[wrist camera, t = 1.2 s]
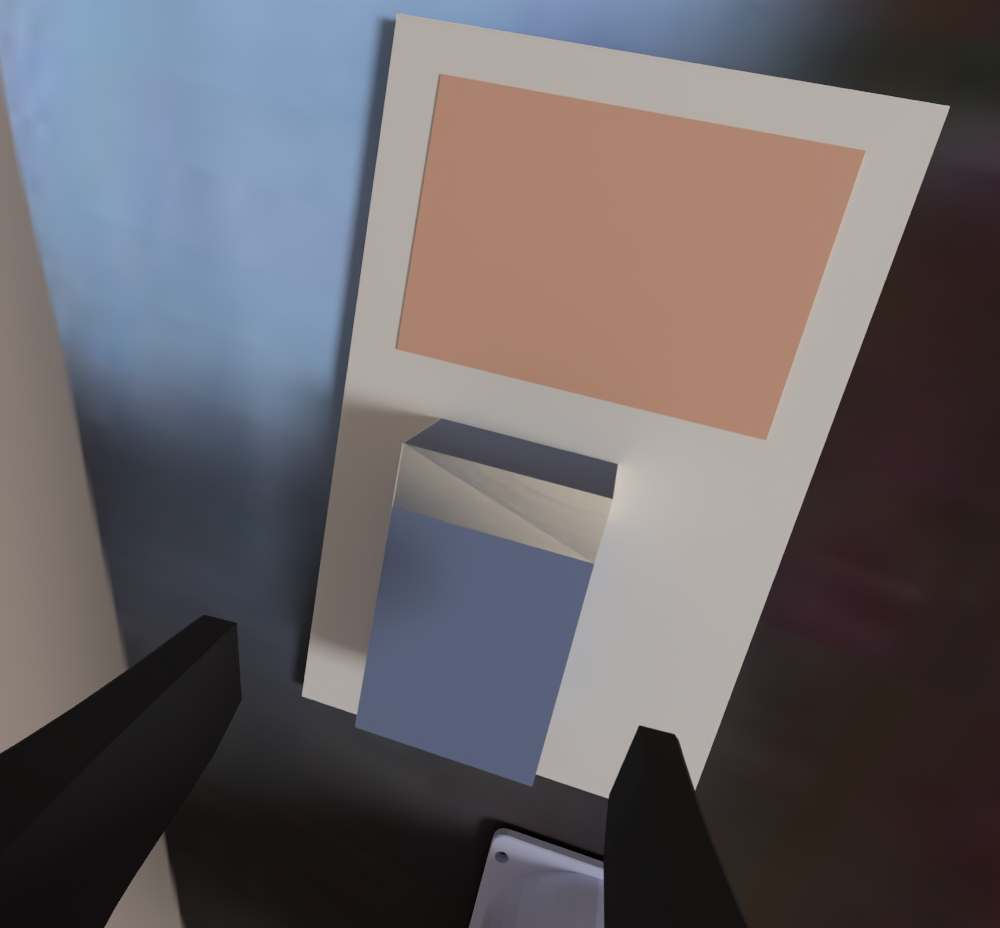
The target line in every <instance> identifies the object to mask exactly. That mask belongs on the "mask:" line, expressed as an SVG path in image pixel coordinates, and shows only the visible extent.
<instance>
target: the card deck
mask: <svg viewBox="0 0 1000 928" xmlns="http://www.w3.org/2000/svg"><path fill="white" fill-rule="evenodd" d="M617 470H618V464H616V463H612V462H608V461H604V460H600V459H597V458H593V457H589V456H585V455H581V454H577V453H573V452H570V451H566V450H562V449H558V448H554V447H550V446H546V445H543V444H539V443H535V442H531V441H527V440H523V439H520V438H516V437H512V436H508V435H504V434H500V433H496V432H493V431H489V430H485V429H481V428H477V427H473V426H469V425H466V424H462V423H458V422H454V421H450V420H446V419H442V418H441V419H439V420H438V421H436V422H434V423H433V424H431V425H430V426H428V427H427V428H425V429H424V430H422V431H420V432H419V433H417V434H416V435H414V436H413V437H411V438H410V439H408V440H406V441H405V442H403V444H402V450H401V456H400V462H399V467H398V473H397V479H396V485H395V491H394V497H393V503H392V513H391V519H390V524H389V530H388V536H387V542H386V548H385V554H384V560H383V565H382V571H381V577H380V583H379V589H378V595H377V600H376V606H375V612H374V618H373V624H372V630H371V636H370V641H369V647H368V653H367V659H366V665H365V671H364V676H363V682H362V688H361V694H360V700H359V706H358V712H357V717H356V723H355V727H356V728H359V729H362V730H365V731H368V732H371V733H374V734H377V735H380V736H383V737H386V738H389V739H392V740H395V741H398V742H401V743H404V744H407V745H410V746H413V747H416V748H419V749H422V750H425V751H428V752H431V753H433V754H436V755H439V756H442V757H445V758H448V759H451V760H454V761H457V762H460V763H463V764H466V765H469V766H472V767H475V768H478V769H481V770H484V771H487V772H490V773H493V774H496V775H499V776H502V777H505V778H508V779H511V780H514V781H517V782H520V783H523V784H526V785H528V786H531V787H532V786H533V782H534V779H535V775H536V771H537V768H538V764H539V761H540V757H541V753H542V750H543V746H544V743H545V739H546V735H547V732H548V728H549V725H550V721H551V718H552V714H553V710H554V707H555V703H556V700H557V696H558V692H559V689H560V685H561V682H562V678H563V674H564V671H565V667H566V664H567V660H568V657H569V653H570V649H571V646H572V642H573V639H574V635H575V631H576V628H577V624H578V621H579V617H580V613H581V610H582V606H583V603H584V599H585V595H586V592H587V588H588V585H589V581H590V578H591V574H592V570H593V567H594V564H595V563H596V559H597V555H598V552H599V548H600V545H601V541H602V537H603V534H604V530H605V527H606V523H607V520H608V516H609V512H610V509H611V505H612V502H613V497H614V490H615V483H616V476H617Z"/></svg>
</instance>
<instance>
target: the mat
mask: <svg viewBox="0 0 1000 928" xmlns="http://www.w3.org/2000/svg"><path fill="white" fill-rule="evenodd" d="M949 108H950V106H945V105H939V104H933V103H927V102H921V101H915V100H909V99H904V98H898V97H892V96H886V95H880V94H874V93H868V92H862V91H856V90H850V89H844V88H838V87H832V86H826V85H820V84H815V83H809V82H803V81H797V80H791V79H785V78H779V77H773V76H767V75H761V74H755V73H749V72H743V71H737V70H732V69H726V68H720V67H714V66H708V65H702V64H696V63H690V62H684V61H678V60H672V59H666V58H660V57H654V56H648V55H643V54H637V53H631V52H625V51H619V50H613V49H607V48H601V47H595V46H589V45H583V44H577V43H571V42H565V41H560V40H554V39H548V38H542V37H536V36H530V35H524V34H518V33H512V32H506V31H500V30H494V29H488V28H482V27H477V26H471V25H465V24H459V23H453V22H447V21H441V20H435V19H429V18H423V17H417V16H411V15H405V14H399V13H397V17H396V24H395V31H394V39H393V46H392V53H391V60H390V67H389V74H388V82H387V89H386V96H385V103H384V110H383V118H382V125H381V132H380V139H379V146H378V153H377V161H376V168H375V175H374V182H373V189H372V196H371V204H370V211H369V218H368V225H367V232H366V240H365V247H364V254H363V261H362V268H361V275H360V283H359V290H358V297H357V304H356V311H355V319H354V326H353V333H352V340H351V347H350V354H349V362H348V369H347V376H346V383H345V390H344V397H343V405H342V412H341V419H340V426H339V433H338V441H337V448H336V455H335V462H334V469H333V476H332V484H331V491H330V498H329V505H328V512H327V519H326V527H325V534H324V541H323V548H322V555H321V563H320V570H319V577H318V584H317V591H316V598H315V606H314V613H313V620H312V627H311V634H310V642H309V649H308V656H307V663H306V670H305V677H304V685H303V692H302V696H303V697H306V698H309V699H312V700H315V701H318V702H321V703H324V704H327V705H330V706H333V707H336V708H339V709H342V710H345V711H348V712H351V713H354V714H357V712H358V706H359V700H360V694H361V688H362V682H363V676H364V671H365V665H366V659H367V653H368V647H369V641H370V636H371V630H372V624H373V618H374V612H375V606H376V600H377V595H378V589H379V583H380V577H381V571H382V565H383V560H384V554H385V548H386V542H387V536H388V530H389V524H390V519H391V513H392V503H393V497H394V491H395V485H396V479H397V473H398V467H399V462H400V456H401V450H402V444H403V442H405V441H406V440H408V439H410V438H411V437H413V436H414V435H416V434H417V433H419V432H420V431H422V430H424V429H425V428H427V427H428V426H430V425H431V424H433V423H434V422H436V421H438V420H439V419H441V418H442V419H446V420H450V421H454V422H458V423H462V424H466V425H469V426H473V427H477V428H481V429H485V430H489V431H493V432H496V433H500V434H504V435H508V436H512V437H516V438H520V439H523V440H527V441H531V442H535V443H539V444H543V445H546V446H550V447H554V448H558V449H562V450H566V451H570V452H573V453H577V454H581V455H585V456H589V457H593V458H597V459H600V460H604V461H608V462H612V463H616V464H618V470H617V476H616V483H615V490H614V497H613V502H612V505H611V509H610V512H609V516H608V520H607V523H606V527H605V530H604V534H603V537H602V541H601V545H600V548H599V552H598V555H597V559H596V563H595V564H594V567H593V570H592V574H591V578H590V581H589V585H588V588H587V592H586V595H585V599H584V603H583V606H582V610H581V613H580V617H579V621H578V624H577V628H576V631H575V635H574V639H573V642H572V646H571V649H570V653H569V657H568V660H567V664H566V667H565V671H564V674H563V678H562V682H561V685H560V689H559V692H558V696H557V700H556V703H555V707H554V710H553V714H552V718H551V721H550V725H549V728H548V732H547V735H546V739H545V743H544V746H543V750H542V753H541V757H540V761H539V764H538V768H537V771H536V774H537V775H540V776H543V777H546V778H549V779H552V780H555V781H558V782H561V783H564V784H567V785H570V786H573V787H576V788H579V789H582V790H585V791H588V792H591V793H593V794H596V795H599V796H602V797H605V798H608V799H609V794H610V792H611V789H612V787H613V785H614V782H615V780H616V778H617V775H618V773H619V771H620V768H621V766H622V764H623V761H624V759H625V757H626V754H627V752H628V750H629V747H630V745H631V743H632V740H633V738H634V736H635V733H636V731H637V729H638V726H639V725H641V726H645V727H648V728H652V729H656V730H660V731H664V732H668V733H672V734H675V735H676V737H677V738H678V740H679V742H680V746H681V749H682V752H683V756H684V759H685V762H686V765H687V768H688V771H689V774H690V777H691V780H692V783H693V786H694V789H696V787H697V784H698V781H699V779H700V776H701V773H702V771H703V768H704V765H705V763H706V760H707V757H708V754H709V752H710V749H711V746H712V744H713V741H714V738H715V736H716V733H717V730H718V728H719V725H720V722H721V720H722V717H723V714H724V712H725V709H726V706H727V704H728V701H729V698H730V695H731V693H732V690H733V687H734V685H735V682H736V679H737V677H738V674H739V671H740V669H741V666H742V663H743V661H744V658H745V655H746V653H747V650H748V647H749V644H750V642H751V639H752V636H753V634H754V631H755V628H756V626H757V623H758V620H759V618H760V615H761V612H762V610H763V607H764V604H765V602H766V599H767V596H768V594H769V591H770V588H771V585H772V583H773V580H774V577H775V575H776V572H777V569H778V567H779V564H780V561H781V559H782V556H783V553H784V551H785V548H786V545H787V543H788V540H789V537H790V534H791V532H792V529H793V526H794V524H795V521H796V518H797V516H798V513H799V510H800V508H801V505H802V502H803V500H804V497H805V494H806V492H807V489H808V486H809V484H810V481H811V478H812V475H813V473H814V470H815V467H816V465H817V462H818V459H819V457H820V454H821V451H822V449H823V446H824V443H825V441H826V438H827V435H828V433H829V430H830V427H831V424H832V422H833V419H834V416H835V414H836V411H837V408H838V406H839V403H840V400H841V398H842V395H843V392H844V390H845V387H846V384H847V382H848V379H849V376H850V374H851V371H852V368H853V365H854V363H855V360H856V357H857V355H858V352H859V349H860V347H861V344H862V341H863V339H864V336H865V333H866V331H867V328H868V325H869V323H870V320H871V317H872V315H873V312H874V309H875V306H876V304H877V301H878V298H879V296H880V293H881V290H882V288H883V285H884V282H885V280H886V277H887V274H888V272H889V269H890V266H891V264H892V261H893V258H894V255H895V253H896V250H897V247H898V245H899V242H900V239H901V237H902V234H903V231H904V229H905V226H906V223H907V221H908V218H909V215H910V213H911V210H912V207H913V205H914V202H915V199H916V196H917V194H918V191H919V188H920V186H921V183H922V180H923V178H924V175H925V172H926V170H927V167H928V164H929V162H930V159H931V156H932V154H933V151H934V148H935V145H936V143H937V140H938V137H939V135H940V132H941V129H942V127H943V124H944V121H945V119H946V116H947V113H948V111H949Z"/></svg>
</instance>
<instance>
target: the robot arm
mask: <svg viewBox="0 0 1000 928" xmlns="http://www.w3.org/2000/svg"><path fill="white" fill-rule="evenodd" d="M241 700H242V698H241V683H240V667H239V652H238V636H237V623H234V622H230V621H226V620H222V619H219V618H215V617H211V616H207V615H203V616H201V617H200V618H198V619H197V620H195V621H194V622H192V623H191V624H190V625H188V626H187V627H186V628H184V629H183V630H181V631H180V632H179V633H177V634H176V635H175V636H173V637H172V638H171V639H169V640H168V641H167V642H165V643H164V644H162V645H161V646H160V647H158V648H157V649H156V650H154V651H153V652H152V653H150V654H149V655H147V656H146V657H145V658H143V659H142V660H140V661H139V662H138V663H136V664H135V665H134V666H132V667H131V668H129V669H128V670H127V671H125V672H124V673H122V674H121V675H119V676H118V677H117V678H115V679H114V680H112V681H111V682H109V683H108V684H106V685H105V686H104V687H102V688H101V689H99V690H98V691H96V692H95V693H93V694H92V695H91V696H89V697H88V698H87V699H85V700H83V701H82V702H80V703H79V704H77V705H76V706H75V707H73V708H72V709H70V710H69V711H67V712H65V713H64V714H62V715H61V716H59V717H58V718H56V719H54V720H53V721H51V722H50V723H48V724H47V725H45V726H44V727H42V728H40V729H39V730H37V731H36V732H34V733H33V734H31V735H30V736H28V737H27V738H25V739H23V740H22V741H20V742H19V743H17V744H15V745H14V746H12V747H10V748H9V749H7V750H5V751H4V752H2V753H0V928H104V927H105V925H106V923H107V921H108V919H109V918H110V916H111V914H112V912H113V910H114V909H115V907H116V906H117V904H118V902H119V901H120V899H121V897H122V896H123V894H124V892H125V891H126V889H127V887H128V886H129V884H130V883H131V881H132V879H133V878H134V876H135V875H136V873H137V872H138V870H139V869H140V867H141V866H142V864H143V863H144V861H145V859H146V858H147V856H148V855H149V853H150V852H151V850H152V849H153V847H154V846H155V844H156V842H157V841H158V840H159V838H160V837H161V835H162V834H163V832H164V831H165V829H166V827H167V826H168V824H169V823H170V821H171V820H172V818H173V817H174V815H175V814H176V812H177V811H178V809H179V808H180V806H181V805H182V803H183V802H184V800H185V799H186V797H187V795H188V794H189V792H190V791H191V789H192V788H193V786H194V785H195V783H196V782H197V780H198V778H199V777H200V775H201V774H202V772H203V771H204V769H205V768H206V766H207V764H208V763H209V761H210V760H211V758H212V757H213V755H214V753H215V751H216V749H217V747H218V745H219V744H220V742H221V740H222V738H223V736H224V734H225V732H226V730H227V728H228V726H229V724H230V722H231V720H232V718H233V716H234V714H235V712H236V710H237V708H238V706H239V704H240V702H241ZM499 852H504V853H506V854H507V855H504V854H501V853H499ZM469 928H750V927H749V925H748V923H747V921H746V918H745V916H744V914H743V912H742V909H741V907H740V905H739V902H738V900H737V898H736V895H735V893H734V891H733V888H732V886H731V884H730V881H729V879H728V876H727V874H726V871H725V869H724V866H723V864H722V861H721V859H720V856H719V854H718V851H717V849H716V846H715V844H714V841H713V839H712V836H711V833H710V831H709V828H708V826H707V823H706V820H705V817H704V815H703V812H702V809H701V806H700V803H699V801H698V798H697V795H696V792H695V789H694V786H693V783H692V780H691V777H690V774H689V771H688V768H687V765H686V762H685V759H684V756H683V752H682V749H681V746H680V742H679V740H678V738H677V737H676V735H675V734H672V733H668V732H664V731H660V730H656V729H652V728H648V727H645V726H641V725H639V726H638V729H637V731H636V733H635V736H634V738H633V740H632V743H631V745H630V747H629V750H628V752H627V754H626V757H625V759H624V761H623V764H622V766H621V768H620V771H619V773H618V775H617V778H616V780H615V782H614V785H613V787H612V789H611V792H610V794H609V800H608V811H607V822H606V833H605V845H604V858H603V862H602V861H599V860H596V859H594V858H591V857H588V856H585V855H582V854H579V853H576V852H573V851H571V850H568V849H565V848H562V847H559V846H556V845H553V844H550V843H548V842H545V841H542V840H539V839H536V838H533V837H530V836H527V835H525V834H522V833H519V832H516V831H513V830H510V829H506V828H502V829H498V830H497V831H495V833H494V835H493V838H492V842H491V846H490V850H489V853H488V857H487V861H486V865H485V869H484V872H483V876H482V880H481V884H480V888H479V891H478V895H477V899H476V903H475V906H474V910H473V914H472V918H471V922H470V925H469Z"/></svg>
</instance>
